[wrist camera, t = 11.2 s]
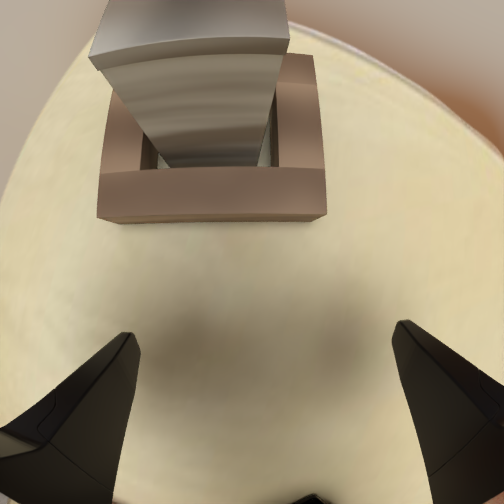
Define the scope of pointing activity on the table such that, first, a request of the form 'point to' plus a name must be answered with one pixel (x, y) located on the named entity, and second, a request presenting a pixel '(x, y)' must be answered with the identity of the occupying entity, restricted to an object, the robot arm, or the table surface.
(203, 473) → the table surface
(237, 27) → the grey wooden tall block
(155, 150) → the walnut groove block
